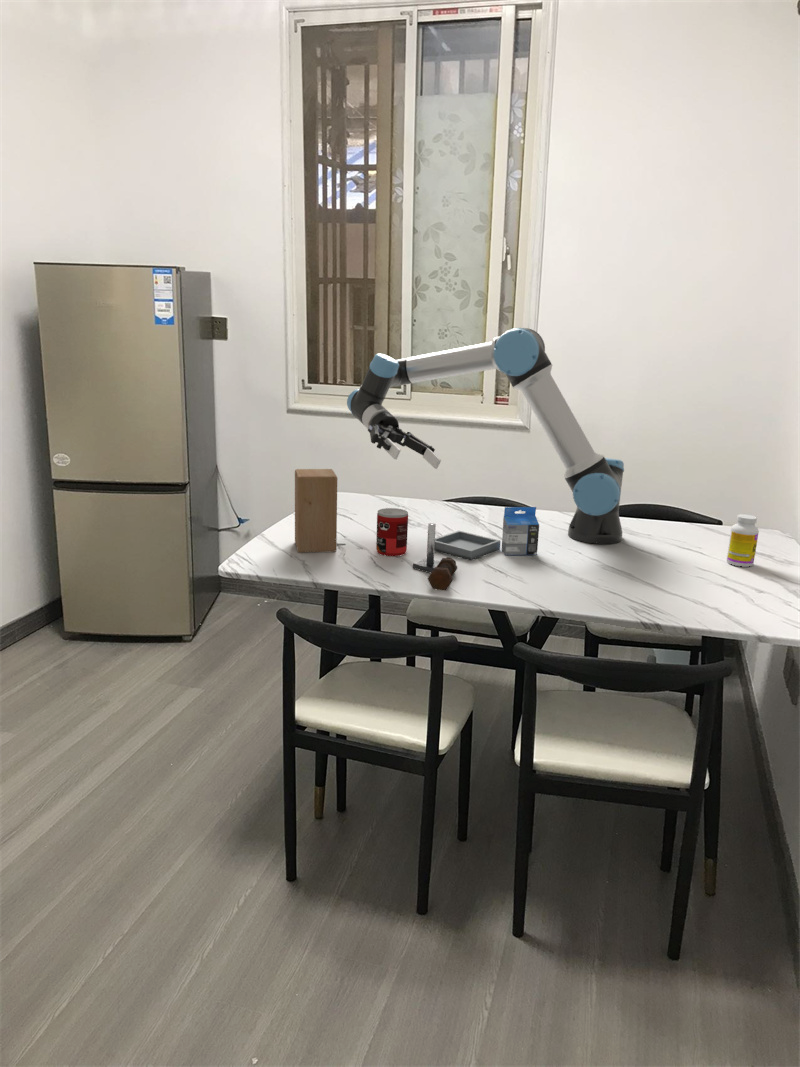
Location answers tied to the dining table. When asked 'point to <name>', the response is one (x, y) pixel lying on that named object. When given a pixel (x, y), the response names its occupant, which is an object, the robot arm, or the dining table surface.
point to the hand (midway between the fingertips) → (418, 459)
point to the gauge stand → (428, 552)
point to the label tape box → (520, 531)
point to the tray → (466, 545)
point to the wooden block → (315, 510)
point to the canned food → (392, 531)
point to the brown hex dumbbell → (443, 574)
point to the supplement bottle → (743, 541)
